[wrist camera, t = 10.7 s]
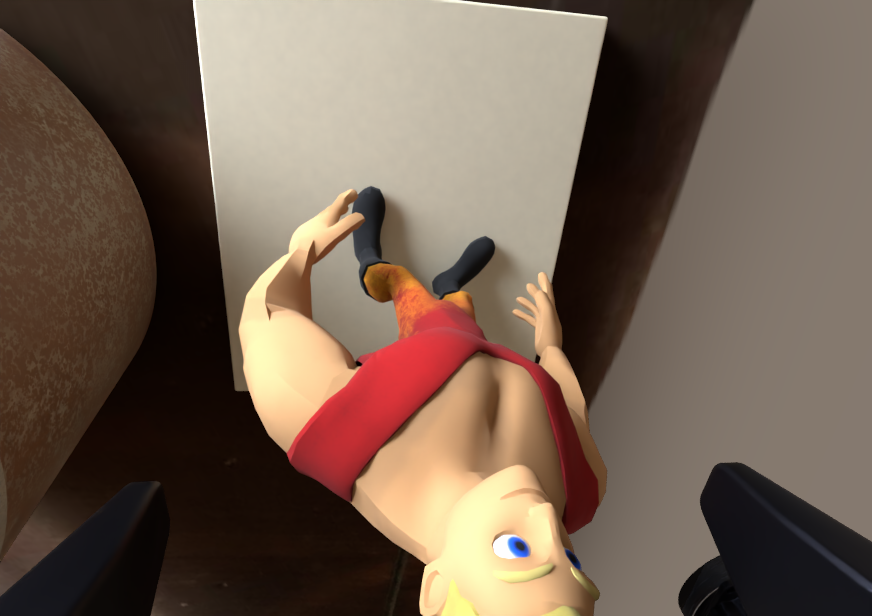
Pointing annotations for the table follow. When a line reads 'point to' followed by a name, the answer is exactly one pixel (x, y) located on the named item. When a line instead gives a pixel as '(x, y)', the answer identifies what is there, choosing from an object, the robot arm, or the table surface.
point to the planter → (60, 278)
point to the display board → (395, 145)
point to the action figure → (433, 423)
